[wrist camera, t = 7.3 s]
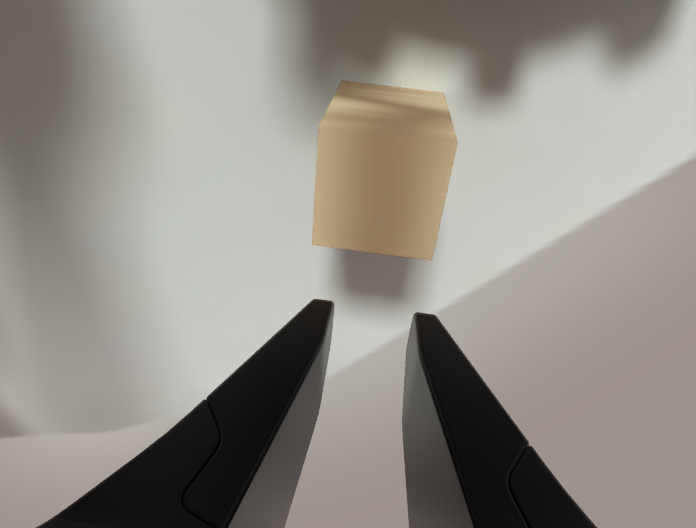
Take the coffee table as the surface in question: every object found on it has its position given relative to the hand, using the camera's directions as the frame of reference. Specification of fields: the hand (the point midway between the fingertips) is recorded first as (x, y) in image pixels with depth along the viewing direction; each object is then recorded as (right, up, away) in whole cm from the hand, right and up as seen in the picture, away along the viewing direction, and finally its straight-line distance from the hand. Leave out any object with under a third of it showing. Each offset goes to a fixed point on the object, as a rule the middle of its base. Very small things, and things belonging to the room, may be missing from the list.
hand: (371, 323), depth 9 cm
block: (+1, +6, +10) cm, 12 cm away
